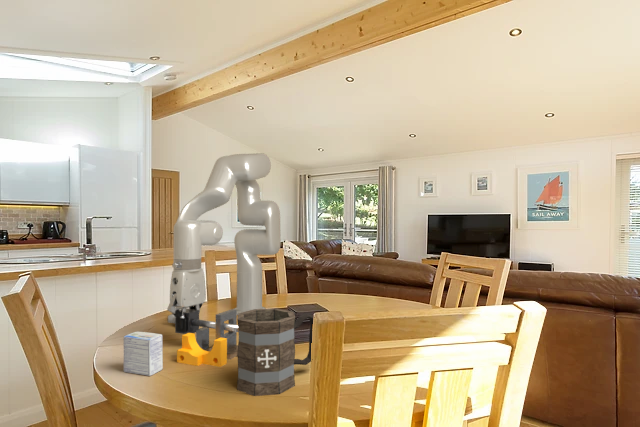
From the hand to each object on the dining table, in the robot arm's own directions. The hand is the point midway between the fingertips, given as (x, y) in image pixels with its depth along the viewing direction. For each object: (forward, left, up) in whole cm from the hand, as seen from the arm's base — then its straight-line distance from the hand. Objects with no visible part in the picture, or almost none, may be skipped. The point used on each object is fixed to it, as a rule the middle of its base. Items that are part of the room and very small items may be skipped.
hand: (187, 329), depth 115 cm
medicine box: (+18, -6, -5) cm, 19 cm away
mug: (+26, +26, -5) cm, 37 cm away
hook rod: (+4, +8, -1) cm, 9 cm away
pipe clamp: (+14, +6, -5) cm, 16 cm away
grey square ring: (+6, +10, -5) cm, 12 cm away
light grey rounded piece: (-26, -7, -5) cm, 28 cm away
